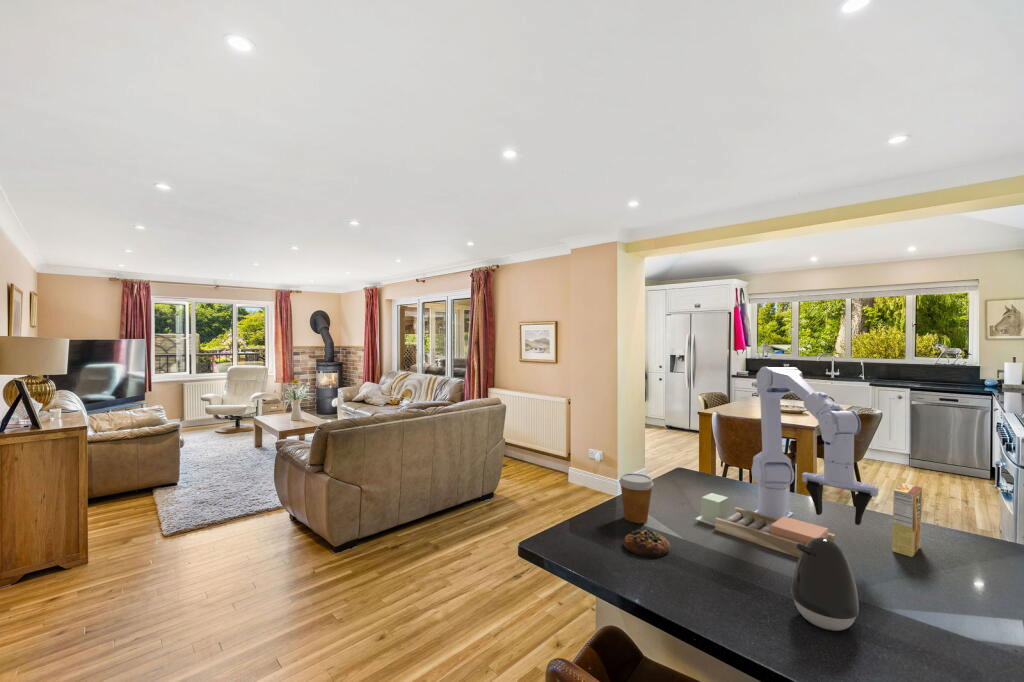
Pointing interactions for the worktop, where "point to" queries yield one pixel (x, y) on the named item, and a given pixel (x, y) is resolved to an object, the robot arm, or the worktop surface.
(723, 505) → the block
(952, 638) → the worktop surface
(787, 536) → the slab
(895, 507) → the candy box
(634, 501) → the disposable coffee cup
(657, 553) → the bread roll
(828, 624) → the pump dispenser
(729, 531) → the roller bed
